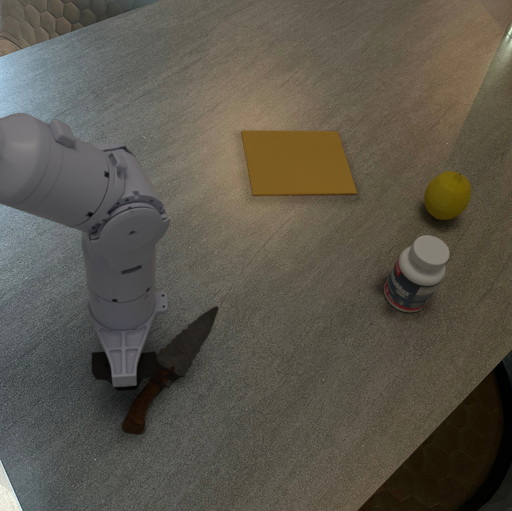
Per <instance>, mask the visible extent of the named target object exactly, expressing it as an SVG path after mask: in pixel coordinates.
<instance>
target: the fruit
mask: <svg viewBox="0 0 512 511" xmlns="http://www.w3.org/2000/svg"><path fill="white" fill-rule="evenodd" d="M424 190H425V191H424V193H423V194H424V195H423V202H424V207H425V209H426V210H427V213H429V214H430V215H431V216H432V217H433V218H435V219H436V220H439V221H441V220H443V221H449V220H451V219H454V218H457V217H459V216H460V215H462V213H464V212H465V211H466V210H467V208H468V207H469V204H470V201H471V197H472V186H471V183H470V181H469V179H468V178H467V177H466V176H465V175H463V174H462V173H460V172H457V171H454V170H447V171H442V172H441V173H439V174H438V175H437V176H435V177H433V178H432V179H431V180H430V181H429V182H428V184H427V185H426V188H425V189H424Z"/></svg>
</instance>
